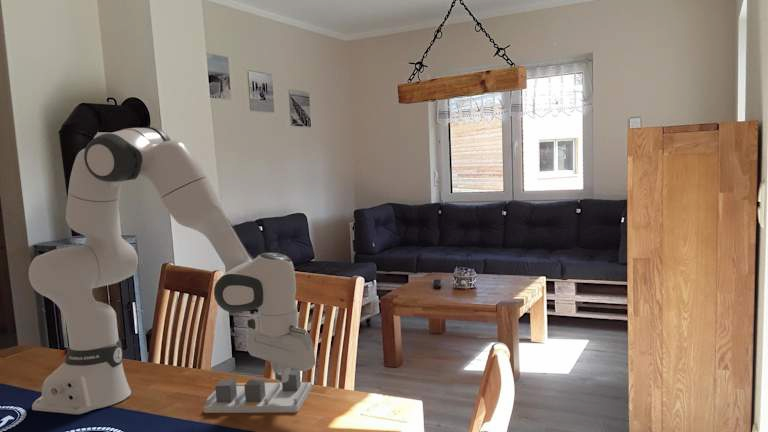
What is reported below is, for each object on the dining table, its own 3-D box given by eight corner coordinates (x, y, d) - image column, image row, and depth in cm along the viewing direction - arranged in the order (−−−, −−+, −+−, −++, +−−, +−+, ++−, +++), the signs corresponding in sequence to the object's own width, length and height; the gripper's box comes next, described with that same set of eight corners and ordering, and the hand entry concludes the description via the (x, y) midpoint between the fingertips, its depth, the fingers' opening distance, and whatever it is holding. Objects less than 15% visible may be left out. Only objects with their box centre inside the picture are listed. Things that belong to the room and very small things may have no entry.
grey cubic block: (245, 402, 140) (244, 385, 139) (250, 395, 143) (249, 379, 143) (260, 402, 139) (259, 385, 139) (265, 395, 143) (264, 379, 142)
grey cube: (282, 391, 145) (281, 375, 145) (286, 385, 149) (285, 369, 148) (297, 391, 145) (296, 374, 144) (300, 385, 148) (299, 369, 148)
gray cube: (216, 402, 141) (215, 385, 140) (222, 396, 144) (221, 379, 144) (231, 402, 140) (230, 385, 140) (237, 395, 144) (235, 379, 143)
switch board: (204, 412, 139) (203, 401, 139) (226, 388, 153) (225, 378, 152) (297, 412, 136) (296, 400, 136) (311, 388, 150) (311, 377, 150)
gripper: (320, 326, 135) (322, 386, 136) (261, 313, 148) (264, 367, 150) (298, 334, 130) (302, 395, 132) (240, 319, 143) (244, 375, 145)
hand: (281, 380), depth 141 cm, fingers closed
